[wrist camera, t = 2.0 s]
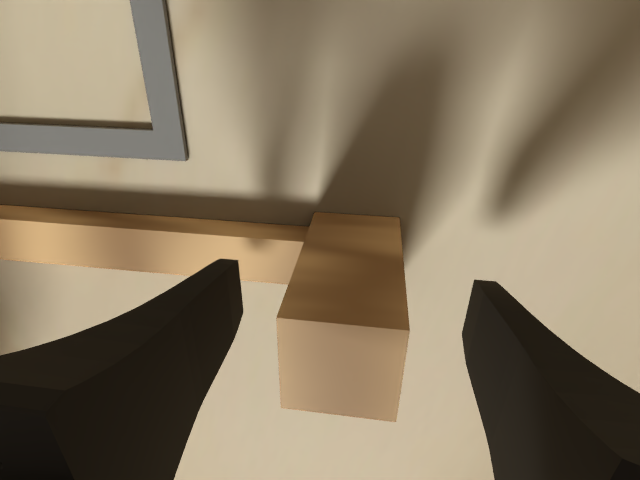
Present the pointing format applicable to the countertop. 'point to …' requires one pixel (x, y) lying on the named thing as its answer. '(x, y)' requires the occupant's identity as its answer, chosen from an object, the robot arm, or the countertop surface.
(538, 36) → the countertop surface
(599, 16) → the countertop surface
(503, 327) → the robot arm
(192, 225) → the oak crook
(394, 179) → the countertop surface
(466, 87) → the countertop surface
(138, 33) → the tape bracket
